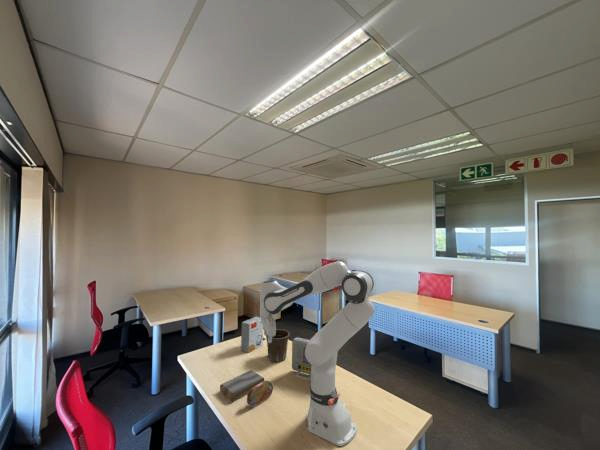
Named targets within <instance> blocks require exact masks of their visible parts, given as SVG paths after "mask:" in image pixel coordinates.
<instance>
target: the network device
mask: <svg viewBox="0 0 600 450" xmlns="http://www.w3.org/2000/svg"><path fill="white" fill-rule="evenodd" d="M309 341H310V339H307V338H302V337H295V338H293V340H292V343H291V369H292V370H293V371H295V372H296V377H297V378H299V379H302V380H305V381H309V382H311V367H312V365H311V364H310V363H309V362H308V361H307V359H306V357H305V349H306V346H307V344H308V342H309ZM301 373H303V374H306V375H309V376H308V377H305V376H301V375H300V374H301Z"/></svg>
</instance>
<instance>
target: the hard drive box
mask: <svg viewBox="0 0 600 450" xmlns="http://www.w3.org/2000/svg"><path fill="white" fill-rule="evenodd" d="M240 336H241V337H240V339H241V340H240V351H243V352H245V353H250V352H253V351H254V350H256V349H258V348H260V347H262V346H263V343H264V342H263V341H264V340H263V339H264V327H263V325H262V323H261V316H260V317H259V316H254V317H252V318H250V319H246V320H244V321H242V322H241V335H240Z"/></svg>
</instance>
